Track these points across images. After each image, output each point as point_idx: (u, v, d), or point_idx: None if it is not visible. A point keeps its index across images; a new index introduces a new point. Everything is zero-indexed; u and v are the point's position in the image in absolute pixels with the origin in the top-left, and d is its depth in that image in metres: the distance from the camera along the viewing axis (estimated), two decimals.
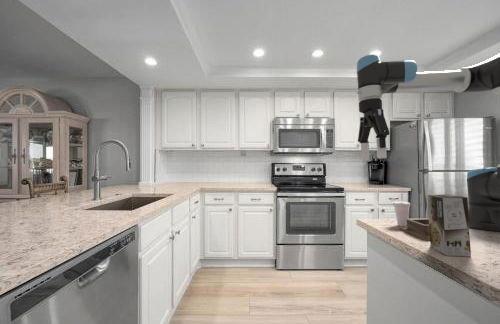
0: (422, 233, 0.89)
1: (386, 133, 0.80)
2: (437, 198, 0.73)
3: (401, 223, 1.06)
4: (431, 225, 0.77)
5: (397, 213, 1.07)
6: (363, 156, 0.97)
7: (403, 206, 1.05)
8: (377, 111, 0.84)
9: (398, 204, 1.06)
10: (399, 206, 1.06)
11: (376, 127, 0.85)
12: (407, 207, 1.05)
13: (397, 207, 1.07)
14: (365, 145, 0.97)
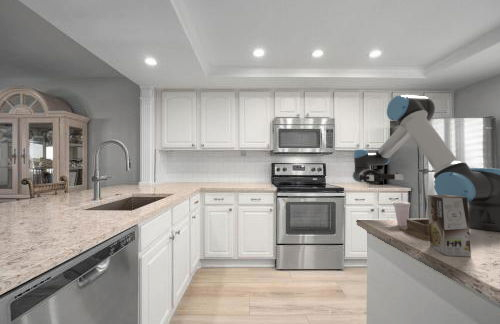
0: (422, 233, 0.89)
1: (359, 177, 1.27)
2: (437, 198, 0.73)
3: (401, 223, 1.06)
4: (431, 225, 0.77)
5: (397, 213, 1.07)
6: (400, 178, 1.20)
7: (403, 206, 1.05)
8: None
9: (398, 204, 1.06)
10: (399, 206, 1.06)
11: None
12: (407, 207, 1.05)
13: (397, 207, 1.07)
14: (395, 176, 1.24)
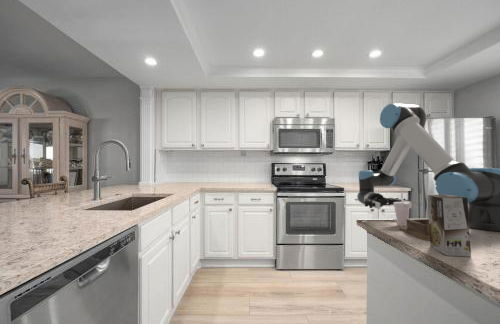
0: (422, 233, 0.89)
1: (365, 203, 1.21)
2: (437, 198, 0.73)
3: (401, 223, 1.06)
4: (431, 225, 0.77)
5: (397, 213, 1.07)
6: None
7: (403, 206, 1.05)
8: None
9: (398, 204, 1.06)
10: (399, 206, 1.06)
11: None
12: (407, 207, 1.05)
13: (397, 207, 1.07)
14: None
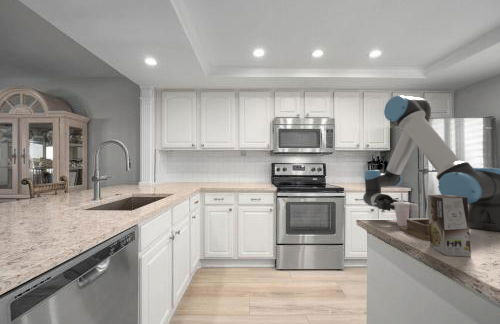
0: (422, 233, 0.89)
1: (382, 205, 1.11)
2: (437, 198, 0.73)
3: (401, 223, 1.06)
4: (431, 225, 0.77)
5: (397, 213, 1.07)
6: (414, 209, 1.04)
7: (403, 206, 1.05)
8: (374, 205, 1.19)
9: (398, 204, 1.06)
10: None
11: None
12: (407, 207, 1.05)
13: None
14: None
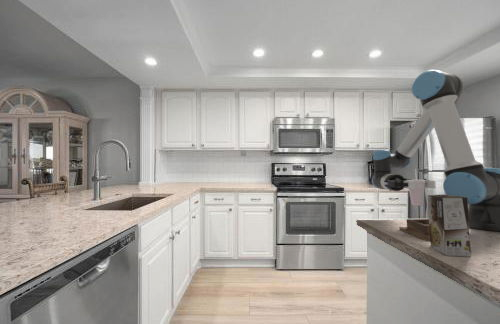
0: (422, 233, 0.89)
1: (394, 183, 1.01)
2: (437, 198, 0.73)
3: (415, 202, 0.97)
4: (431, 225, 0.77)
5: (411, 191, 0.98)
6: (431, 186, 0.94)
7: (418, 183, 0.96)
8: (385, 185, 1.09)
9: None
10: None
11: (398, 185, 1.04)
12: (422, 184, 0.96)
13: None
14: None
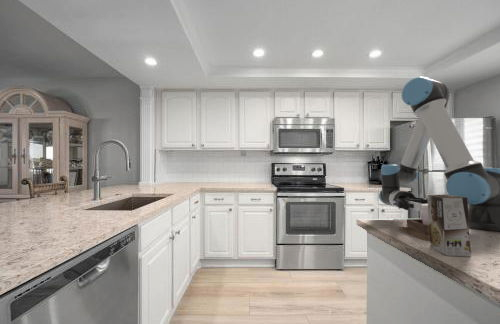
0: (422, 233, 0.89)
1: (399, 203, 0.97)
2: (437, 198, 0.73)
3: None
4: (431, 225, 0.77)
5: (424, 217, 0.92)
6: None
7: None
8: (393, 203, 1.05)
9: (425, 206, 0.91)
10: (426, 209, 0.91)
11: None
12: None
13: (424, 210, 0.92)
14: None
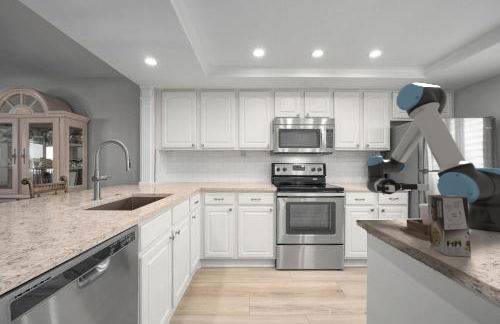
0: (422, 233, 0.89)
1: (377, 187, 1.12)
2: (437, 198, 0.73)
3: None
4: (431, 225, 0.77)
5: (424, 217, 0.92)
6: (425, 189, 1.05)
7: None
8: None
9: (425, 207, 0.91)
10: (427, 209, 0.91)
11: None
12: None
13: (424, 210, 0.92)
14: (418, 186, 1.09)
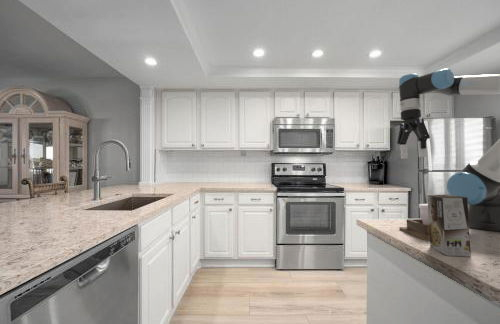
0: (422, 233, 0.89)
1: (427, 137, 1.02)
2: (437, 198, 0.73)
3: None
4: (431, 225, 0.77)
5: (424, 217, 0.92)
6: (402, 155, 1.19)
7: None
8: (419, 119, 1.06)
9: (425, 207, 0.91)
10: (426, 209, 0.91)
11: (417, 132, 1.07)
12: None
13: (424, 210, 0.92)
14: (404, 146, 1.19)
